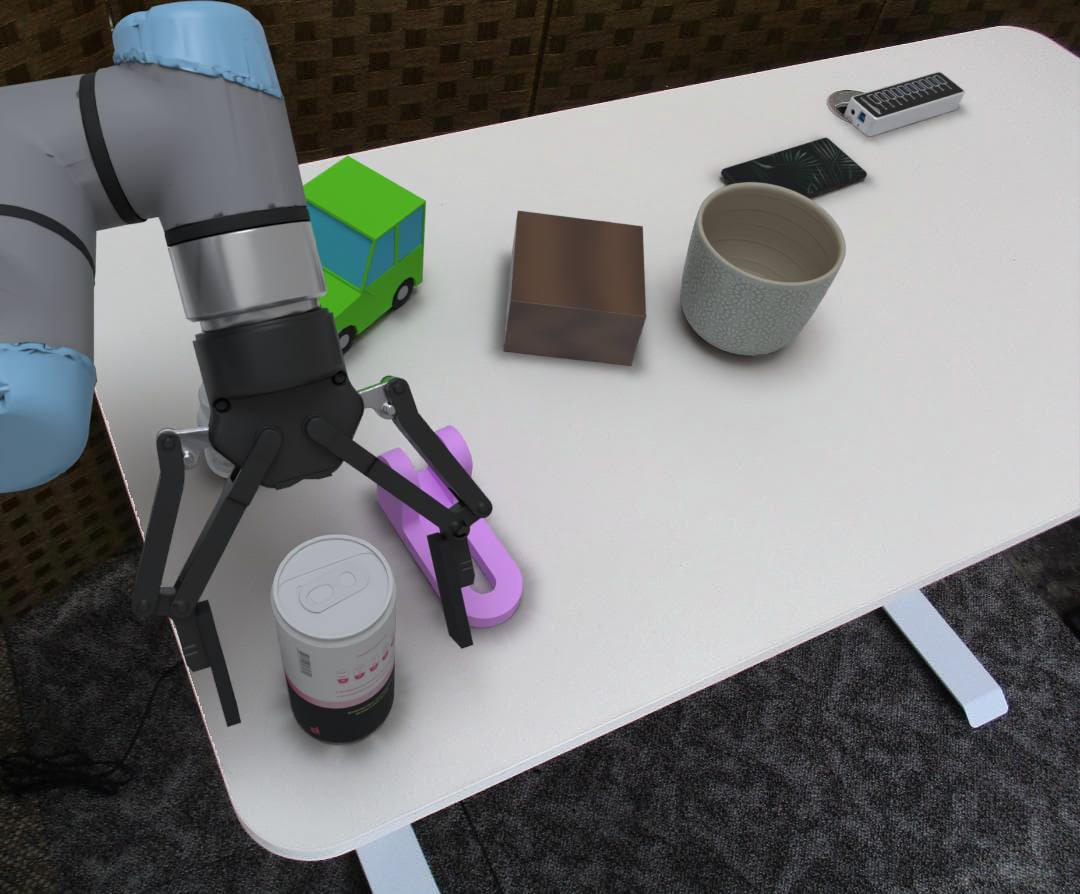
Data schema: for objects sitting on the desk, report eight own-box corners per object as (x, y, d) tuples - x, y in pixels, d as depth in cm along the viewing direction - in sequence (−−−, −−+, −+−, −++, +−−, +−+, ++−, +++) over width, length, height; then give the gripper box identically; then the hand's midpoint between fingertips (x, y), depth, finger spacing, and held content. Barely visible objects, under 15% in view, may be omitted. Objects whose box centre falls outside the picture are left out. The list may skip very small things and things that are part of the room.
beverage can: (272, 682, 64) (247, 567, 52) (361, 632, 67) (356, 512, 55) (322, 766, 61) (308, 665, 49) (413, 710, 64) (419, 601, 52)
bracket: (377, 501, 73) (376, 445, 68) (442, 471, 76) (447, 415, 70) (467, 641, 68) (475, 592, 62) (535, 604, 70) (548, 554, 64)
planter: (826, 328, 90) (873, 237, 82) (751, 399, 84) (793, 308, 76) (719, 256, 95) (753, 162, 86) (639, 318, 88) (667, 223, 80)
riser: (503, 351, 84) (510, 300, 79) (510, 261, 90) (517, 210, 86) (631, 365, 85) (646, 316, 80) (629, 276, 91) (643, 225, 87)
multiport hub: (957, 109, 115) (967, 91, 113) (868, 137, 109) (876, 119, 108) (931, 87, 117) (940, 70, 115) (841, 114, 111) (849, 96, 110)
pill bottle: (277, 467, 74) (267, 402, 68) (219, 489, 72) (204, 424, 66) (254, 425, 76) (242, 358, 70) (197, 446, 74) (181, 379, 68)
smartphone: (869, 173, 104) (762, 209, 98) (865, 181, 105) (759, 217, 98) (826, 135, 107) (720, 167, 101) (823, 143, 108) (717, 176, 102)
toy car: (233, 323, 82) (217, 230, 74) (341, 242, 89) (338, 149, 81) (327, 385, 79) (321, 295, 71) (431, 297, 87) (436, 206, 79)
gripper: (459, 273, 61) (525, 595, 65) (18, 363, 53) (127, 724, 57) (498, 268, 54) (570, 629, 58) (-2, 371, 46) (124, 781, 50)
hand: (351, 677), depth 58 cm, fingers open, 13 cm apart
